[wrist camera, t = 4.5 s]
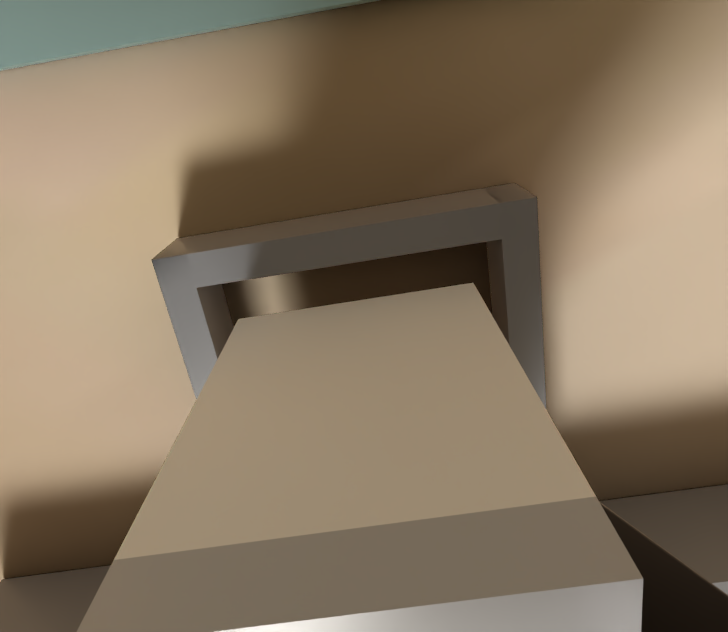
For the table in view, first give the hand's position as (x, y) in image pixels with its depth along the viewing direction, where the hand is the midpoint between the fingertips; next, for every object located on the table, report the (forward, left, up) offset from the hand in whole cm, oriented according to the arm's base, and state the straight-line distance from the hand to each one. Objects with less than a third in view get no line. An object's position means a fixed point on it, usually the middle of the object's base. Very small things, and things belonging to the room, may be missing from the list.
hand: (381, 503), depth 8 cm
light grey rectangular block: (0, 0, -2) cm, 2 cm away
